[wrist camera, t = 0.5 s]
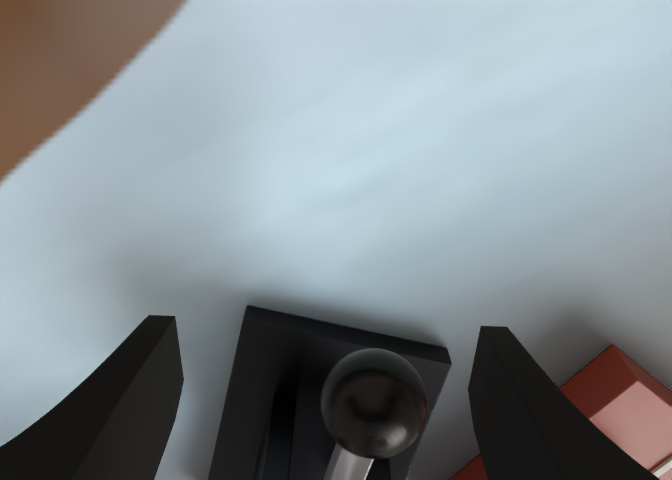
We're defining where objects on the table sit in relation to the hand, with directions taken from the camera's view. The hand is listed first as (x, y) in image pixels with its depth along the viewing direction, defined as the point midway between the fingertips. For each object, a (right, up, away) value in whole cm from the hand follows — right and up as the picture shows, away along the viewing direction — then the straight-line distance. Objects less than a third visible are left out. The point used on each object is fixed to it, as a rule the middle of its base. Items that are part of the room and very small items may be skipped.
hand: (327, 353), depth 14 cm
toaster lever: (0, -5, +7) cm, 8 cm away
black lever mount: (-1, -6, +14) cm, 15 cm away
